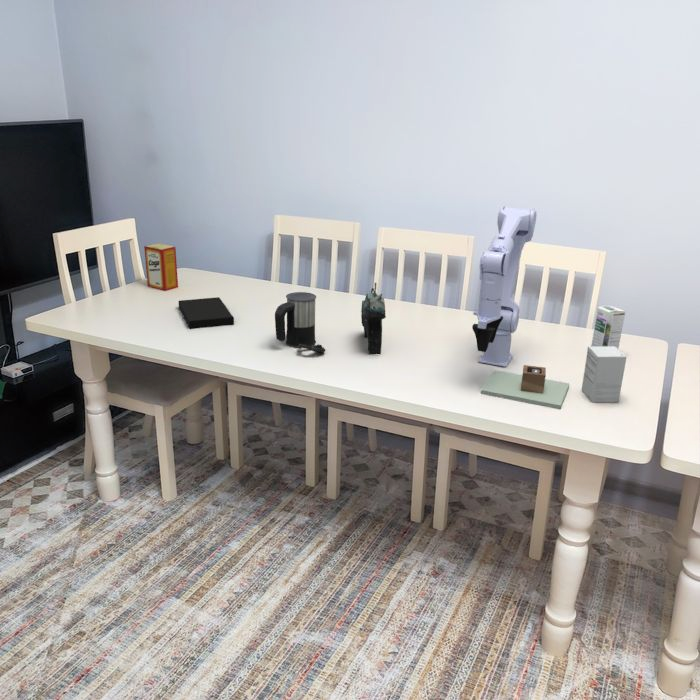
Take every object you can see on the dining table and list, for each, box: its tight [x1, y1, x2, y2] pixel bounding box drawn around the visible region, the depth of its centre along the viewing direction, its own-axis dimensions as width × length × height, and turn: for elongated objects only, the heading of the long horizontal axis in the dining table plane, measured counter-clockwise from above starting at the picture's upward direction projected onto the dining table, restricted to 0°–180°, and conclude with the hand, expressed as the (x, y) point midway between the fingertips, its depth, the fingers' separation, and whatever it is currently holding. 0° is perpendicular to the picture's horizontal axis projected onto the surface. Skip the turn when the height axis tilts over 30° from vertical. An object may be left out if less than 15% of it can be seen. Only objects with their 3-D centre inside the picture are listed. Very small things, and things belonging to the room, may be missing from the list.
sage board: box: [480, 369, 570, 410], centre depth 180 cm, size 15×20×1 cm
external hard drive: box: [177, 297, 235, 330], centre depth 230 cm, size 14×23×3 cm, turn 21°
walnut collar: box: [521, 364, 547, 394], centre depth 178 cm, size 6×6×5 cm
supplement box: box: [581, 345, 627, 403], centre depth 175 cm, size 7×7×13 cm
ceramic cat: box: [360, 282, 387, 355], centre depth 205 cm, size 20×6×20 cm, turn 4°
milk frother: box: [274, 291, 326, 354], centre depth 203 cm, size 14×16×15 cm
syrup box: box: [590, 305, 626, 350], centre depth 203 cm, size 6×6×14 cm
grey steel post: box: [532, 369, 540, 373], centre depth 178 cm, size 2×2×5 cm
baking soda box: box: [144, 242, 179, 292], centre depth 258 cm, size 10×6×16 cm
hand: (485, 346), depth 183 cm, fingers open, 7 cm apart
